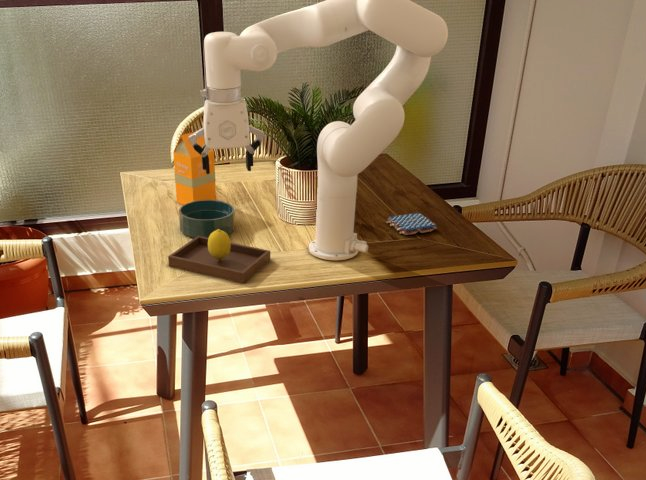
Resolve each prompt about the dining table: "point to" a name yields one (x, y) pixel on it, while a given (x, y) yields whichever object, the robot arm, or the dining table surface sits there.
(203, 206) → the bowl
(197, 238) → the tray
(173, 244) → the dining table surface
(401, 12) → the robot arm
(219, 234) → the lemon
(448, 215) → the dining table surface
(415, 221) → the woven mat
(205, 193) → the orange juice
